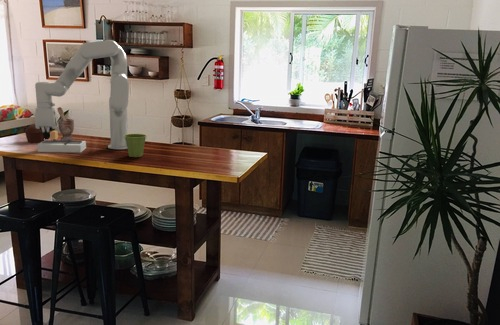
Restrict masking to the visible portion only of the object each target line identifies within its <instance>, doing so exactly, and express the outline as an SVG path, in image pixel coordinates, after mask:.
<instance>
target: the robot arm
mask: <svg viewBox="0 0 500 325" xmlns="http://www.w3.org/2000/svg"><path fill="white" fill-rule="evenodd" d="M127 57H128V56H127V54H126V52H125V51H124V49H123V48H122V46H120V45H119V44H118V43H117V42H116V41H115V40H113V39H106V40H98V41H90V42H89V41H88V42H84V43H82V44H81V45H80V47H79V48H78V49H77V51H76V52H75V54H74V55H73V56H72V57H71V58H70V60H69V61H68V62H67V64H66V66H65V68H64V70H63V71H62V72H61V74H60V75H59V77H58V78H56V80H55V82H49V81H38V82H36V83H35V86H34V87H35V97H36V98H35V99H36V100H35V102H36V107H35V112H34V125H36V128H38V129H40V130H42V132H43V136H44V140H50V139H51V133H50V132H51V131H53V130H55V129H57V128H58V119H57V116H56V115H57V113H56V110H55V106H56V103H53V100H52V99H53V97H57V98H58V97H59V98H60V97H63V96H65V94H66V92H68V90H69V89H70V87H71V86H72V85H73V84H74V82H75V81H76V80H77V79H78V78H79V77H80V76H81V75H82V74H83V72H84V71H85V70H86V68H87V67H88V66H89V65H90V64H91V62H92V61H93V59H101V58H102V59H103V58H110V65H111V67H110V68H111V72H110V73H111V74H110V78H109V80H110V81H109V83H110V95H109V99H108V107H109V108H108V110H109V128H110V129H109V131H110V132H109V134H110V144H108V145H107V147H108V149H109V150H128V149H127V143H126V140H125V137H124V135H126V134H129V133H128V109H127V108H128V105H129V94H130V93H129V92H130V81H129V78H128V58H127Z"/></svg>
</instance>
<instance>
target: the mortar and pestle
mask: <svg viewBox="0 0 500 325" xmlns="http://www.w3.org/2000/svg"><path fill="white" fill-rule="evenodd" d="M56 109H57V112H58V114H59V116H60V118H61V119H57V125H58V130H59V132H60V134H61V135H62V137H61V138H60V141H69V140H71V141H75V140H74V138H73V137H72V134H73V133H74V128H75V126H74V124H75V123H74V120H75V119H71V118H66V117H65V113H64V110H63V108H62V107H57V108H56Z"/></svg>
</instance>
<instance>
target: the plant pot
mask: <svg viewBox="0 0 500 325" xmlns="http://www.w3.org/2000/svg"><path fill="white" fill-rule="evenodd" d="M147 136H148V135H147V134H143V133H128V134H126V135H124V137H125V140H126V143H127V149H126V150H127V153H128V157H130V158H141V157H143V155H144V148H145V142H146V138H147Z"/></svg>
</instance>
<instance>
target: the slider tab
mask: <svg viewBox="0 0 500 325" xmlns="http://www.w3.org/2000/svg"><path fill="white" fill-rule="evenodd" d="M58 139H59V133H58V130H51V131H50V140H53V142H56V141H57V140H58Z"/></svg>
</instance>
